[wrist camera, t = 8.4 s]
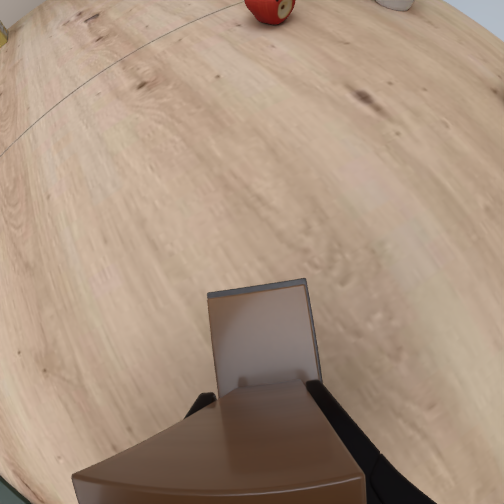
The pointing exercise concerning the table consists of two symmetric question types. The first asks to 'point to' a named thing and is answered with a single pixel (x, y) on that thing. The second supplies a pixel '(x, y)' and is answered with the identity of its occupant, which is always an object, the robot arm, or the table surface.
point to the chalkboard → (10, 494)
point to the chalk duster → (243, 420)
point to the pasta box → (3, 35)
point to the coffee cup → (396, 4)
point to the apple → (270, 10)
